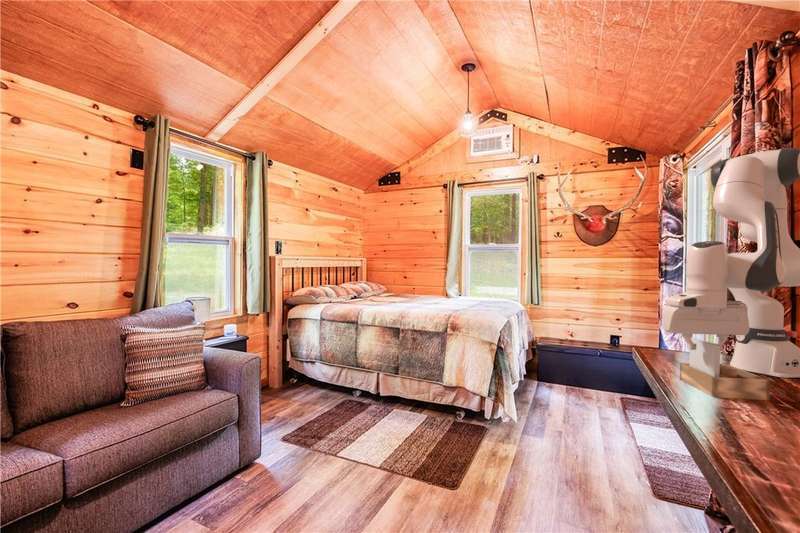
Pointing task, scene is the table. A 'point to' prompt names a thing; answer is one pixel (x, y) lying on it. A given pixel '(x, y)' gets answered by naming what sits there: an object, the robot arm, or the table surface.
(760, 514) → the table surface
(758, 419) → the table surface
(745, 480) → the table surface
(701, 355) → the sheet
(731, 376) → the offcut top
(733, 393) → the rack
